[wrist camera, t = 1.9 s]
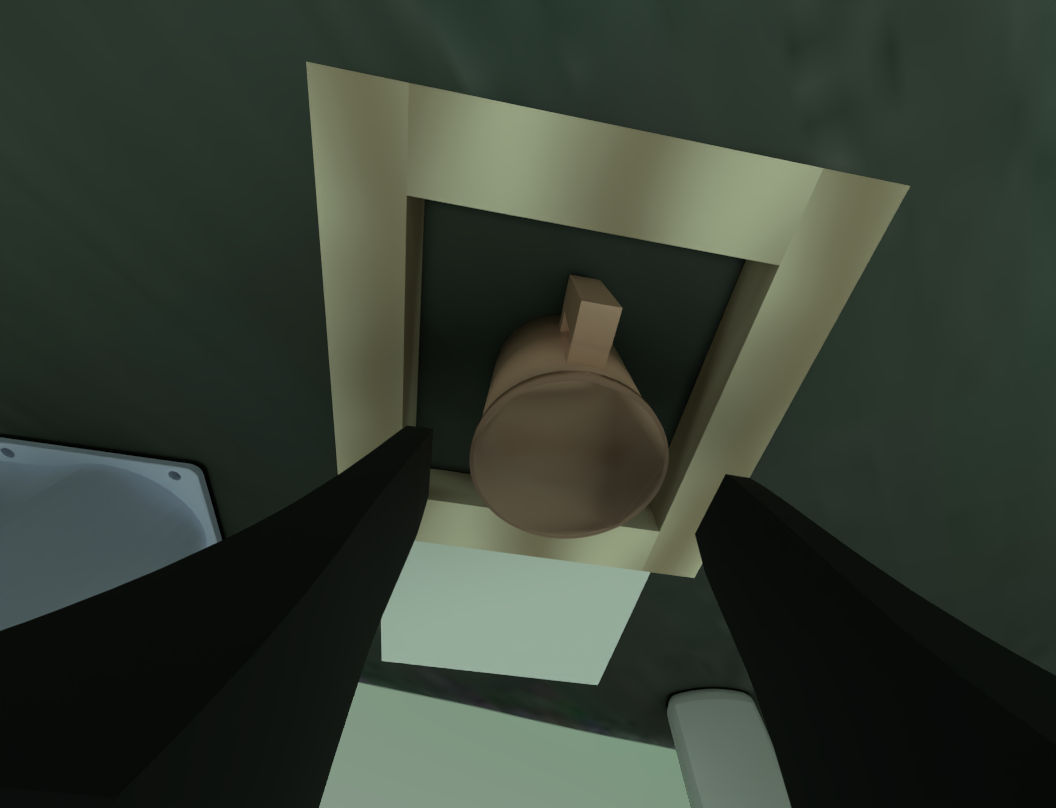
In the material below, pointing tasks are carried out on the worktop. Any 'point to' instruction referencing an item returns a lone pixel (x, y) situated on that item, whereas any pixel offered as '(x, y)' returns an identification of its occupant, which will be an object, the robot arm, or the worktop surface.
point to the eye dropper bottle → (725, 751)
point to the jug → (567, 425)
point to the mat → (507, 613)
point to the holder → (595, 204)
